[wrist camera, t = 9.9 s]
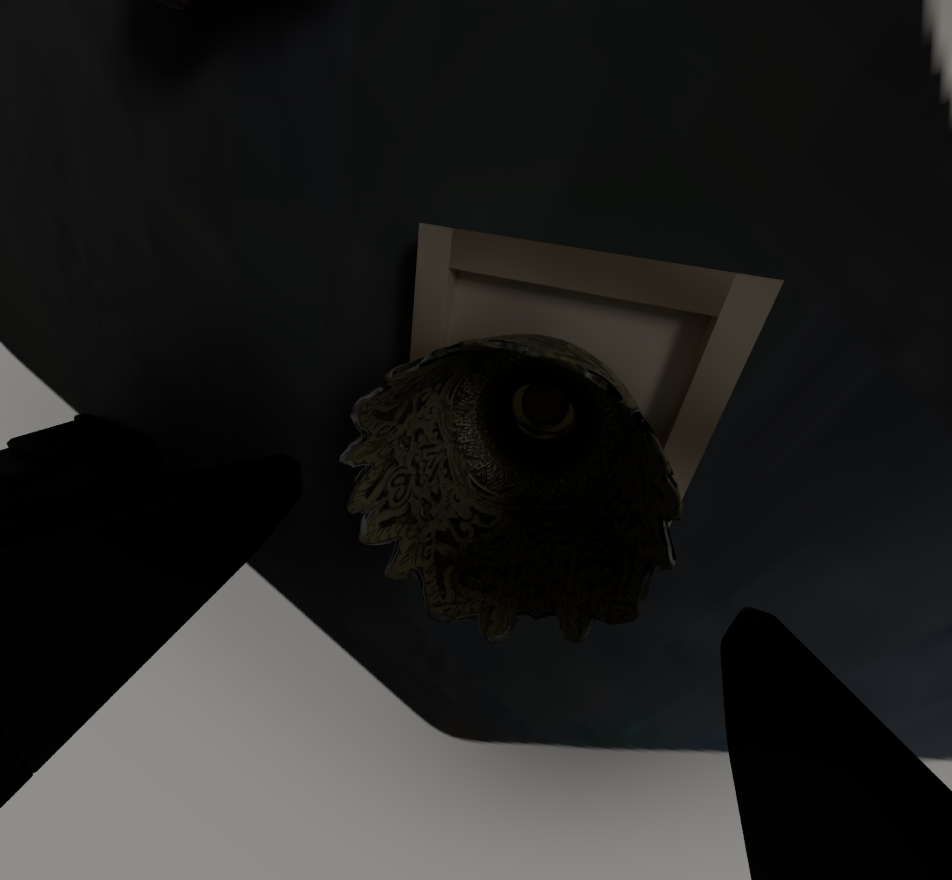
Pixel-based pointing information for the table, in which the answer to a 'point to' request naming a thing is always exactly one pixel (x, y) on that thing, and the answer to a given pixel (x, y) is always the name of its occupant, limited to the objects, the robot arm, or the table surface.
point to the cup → (514, 486)
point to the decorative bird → (177, 3)
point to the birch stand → (599, 323)
